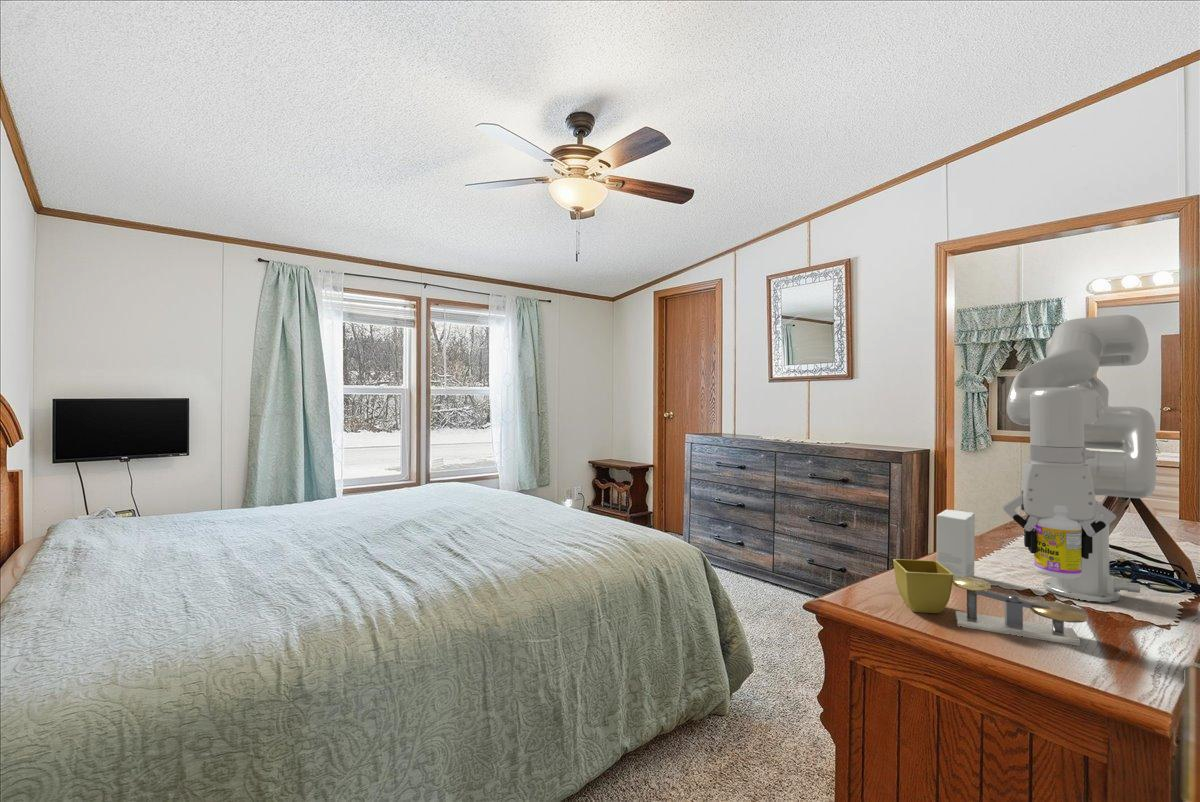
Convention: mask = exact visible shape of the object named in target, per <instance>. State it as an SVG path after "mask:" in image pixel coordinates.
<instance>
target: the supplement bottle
mask: <svg viewBox="0 0 1200 802" xmlns="http://www.w3.org/2000/svg"><path fill="white" fill-rule="evenodd" d="M1053 511H1054V513H1055V514H1056V515H1055V516H1054V517H1052V518H1039V520H1038V521H1037V523H1036V524H1035V526H1034V531H1035V532H1036V553H1035V554H1034V553H1033V566H1034V567H1033V569H1034V570H1035V571H1037V573H1039V574H1042V575H1045V576H1048V577H1051V578H1052V577H1057V578H1065V579H1073V578H1078V577H1080V576H1081V574H1082V526H1081V524H1080V522H1079V521H1075V520H1071V519H1068V518H1067V517H1066V516H1065V514H1067V512H1068V510H1067V507H1066V506H1057V505H1056V506H1054V509H1053Z"/></svg>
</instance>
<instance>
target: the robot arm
mask: <svg viewBox="0 0 1200 802" xmlns="http://www.w3.org/2000/svg"><path fill="white" fill-rule="evenodd" d="M1148 352H1149V339H1148V335H1147V332H1146V327H1145V326H1144V324H1143V322H1142V321H1141V320H1140V319H1139V318H1137V317H1136V316H1134V315H1128V314H1114V315H1104V316H1093V317H1081V318H1073V319H1069V320H1067V321H1064V322H1062V323H1060V324H1059V325H1057V327H1055V329H1054V330H1053V332H1052V335H1051V337H1050V338H1049V339H1048V340H1047V342H1046V344H1045V355H1046V357H1044V358H1041V359H1040V360H1038V361H1036V362H1033V364H1030V365H1029V366H1027V367H1025V368H1023V369H1022V370H1020V371H1019V372H1018V373H1017V374H1016V375H1015V377H1014V379H1013V381H1012V383H1011V386H1010V389H1009V393H1008V396H1007V399H1006V413H1007V416H1008V418H1009V419H1010V420H1011V422H1013V423H1014V424H1017V425H1021V426H1029V432H1030V433H1029V435H1030V436H1029V441H1030V442H1029V444H1030V445H1029V446H1030V449H1029V450H1030V452H1029V453H1030V460H1029V461H1024V464H1023V467H1022V475H1021V482H1020V483H1021V484H1020V485H1021V486H1020V495H1018V496H1016V497H1015V498H1013V499H1012V500H1009V502H1006V504H1004V505H1003V506H1002V510H1003V511H1005V513H1006V514H1007V515H1008V516H1010V518H1011V519H1013V520H1014V521H1015V522H1016V523H1017V524H1018V525H1019V526H1020V527H1022V529H1024V530H1023V538H1024V539H1023V544H1024V547H1025V548H1028V549H1027V550H1028V551H1029V553H1031V554H1033V555H1034V554H1035V553H1036V532H1035V531H1034V526H1035V524H1036V523H1037V521H1038V520H1039V518H1052V517H1054V516H1055V515H1056V514H1055V513H1054V511H1053V509H1054V506H1056V505H1057V506H1066V507H1067V510H1068V512H1067V514H1065V516H1066V517H1067V518H1068V519H1071V520H1075V521H1079V522H1080V524H1081V526H1082V574H1081V576H1080V577H1078V578H1073V579H1065V578H1057V577H1052V576H1051V578H1047V579H1044V580H1043V581H1042V582H1043V583H1042V585H1043V588H1044V589H1045V590H1047V591H1049V592H1050V593H1052V594H1056V595H1058V596H1062V597H1065V598H1068V597H1069V599H1073V598H1074V599H1073V600H1078V599H1080V600H1079V601H1083V600H1087V601H1086V602H1090V601H1101V602H1100V603H1112V602H1111V601H1115V602H1118V601H1119V600H1120V592H1121V591H1125V592H1126V591H1127V592H1131V593H1138V594H1139V593H1141V584H1139V583H1138V582H1137V583H1136V582H1129V581H1128V580H1127V579H1116V578H1114V577H1113V576H1112V575H1111V574H1110V524H1111V523H1112V522H1114V521H1115V520H1116V519H1117V515H1116V514H1115V513H1113V511H1111V510H1110V509H1108V508H1107V507H1106V506H1104V505H1103V504H1102V503H1101V502H1099V501H1097V500H1096V496H1103V497H1104V496H1106V497H1117V498H1131V499H1144V498H1148V497H1150V496H1151V495H1152V494H1153V493H1154V491H1155V489H1156V484H1157V431H1156V424H1155V423H1156V422H1155V420H1154V419H1155V418H1154V417H1153V415H1152V413H1150V412H1149V410H1147V409H1144V408H1143V407H1139V406H1138V407H1137V406H1109V397H1110V396H1109V393H1110V392H1109V389H1108V386H1107V385H1106V384H1105V383H1104V382H1103V381H1102V380H1100V378H1098V377H1097V376H1096V375H1097V373H1098V372H1099V368H1101V367H1105V368H1106V367H1126V366H1127V367H1129V366H1136V365H1140V364H1141V363H1143V362H1144V361H1145V359H1146V358H1147V356H1148ZM1089 449H1091V450H1089ZM1093 449H1095V450H1093ZM1101 450H1103V451H1101ZM1104 450H1115V451H1104ZM1121 451H1122V452H1121ZM1019 507H1020V509H1021V510H1022V512H1024V513H1025V514H1026V516H1025V518H1023V517H1022V516H1021V515H1020V514H1019V513H1017V511H1016V509H1017V508H1019ZM1118 599H1119V600H1118Z"/></svg>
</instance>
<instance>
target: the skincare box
mask: <svg viewBox="0 0 1200 802" xmlns="http://www.w3.org/2000/svg"><path fill="white" fill-rule="evenodd" d="M975 517H976V514H975V512H969V511H961V510H955V509H948V508H947V509H945V510H942V511H941V512H939V513H938V514H936V561H937V562H939V563H940V564H941V565H943V566H944V567H945V568H946V569H948V570H949V571H950V572H952V573H953V578H955V577H973V578H974V576H975V535H976V534H975V528H976V527H975V522H976V520H975V519H976V518H975Z"/></svg>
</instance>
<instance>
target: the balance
mask: <svg viewBox="0 0 1200 802" xmlns="http://www.w3.org/2000/svg"><path fill="white" fill-rule="evenodd" d="M952 585H954V586H955V587H958V588H960V589H962V590H963V589H964V590H966V611H959V610H955V620H957V621H956V624H957V627H960V626H962V627H961V628H965V629H966V628H967V629H973V630H979V631H986V632H991V633H998V634H1002V635H1003V634H1004V635H1009V634H1011V635H1010V636H1015V635H1017V637H1021V636H1023V637H1022V638H1029V639H1035V640H1041V641H1045V642H1052V643H1060V644H1063V645H1064V644H1066V645H1072V646H1077V647H1080V646H1081V641H1080V640H1081V639H1080V637H1079V636H1078V635H1077V633H1076V631H1075V630H1074V629H1073V628H1072V627H1065V626H1064V625H1065V623H1077V624H1078V623H1079V624H1081V623H1085V622H1087V621H1088V613H1087V611H1085V610H1083V609H1081V608H1080V607H1077V606H1074V605H1072V604H1071V605H1070V604H1068V603H1063V602H1057V601H1051V600H1034V601H1028V600H1024V599H1020V598H1019V597H1018V596H1017V595H1014V594H1010V595H1006V594H1002V593H998V592H993V591H991V589H992V588H991V587H992V584H991V583H990V582H989V581H987V580H985V579H981V578H978V577H974V576H973V577H955V578H953V582H952ZM978 596H982V597H985V598H989V599H993V600H996V601H1000V602H1004V617H999V616H993V615H992V616H991V615H986V614H979V613H978V602H977V601H978V600H977V599H978ZM1023 608H1027V609H1029V610H1030V611H1031V612H1032V613H1034V614H1036V615H1038V616H1039V617H1040V616H1041V617H1043V618H1045V619H1049V620H1051V621H1052V624H1046V623H1041V622H1040V623H1039V622H1032V621H1026V620H1025V621H1024V617H1023V616H1024V609H1023Z"/></svg>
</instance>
